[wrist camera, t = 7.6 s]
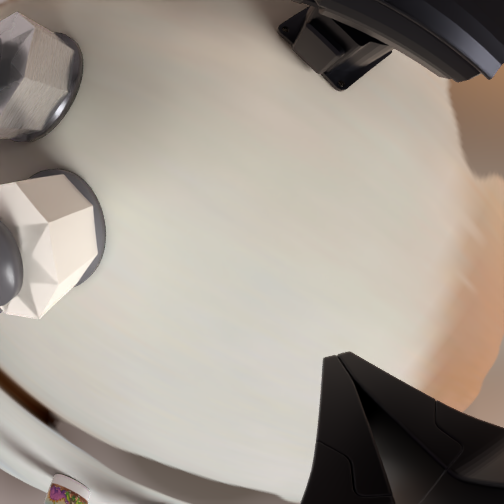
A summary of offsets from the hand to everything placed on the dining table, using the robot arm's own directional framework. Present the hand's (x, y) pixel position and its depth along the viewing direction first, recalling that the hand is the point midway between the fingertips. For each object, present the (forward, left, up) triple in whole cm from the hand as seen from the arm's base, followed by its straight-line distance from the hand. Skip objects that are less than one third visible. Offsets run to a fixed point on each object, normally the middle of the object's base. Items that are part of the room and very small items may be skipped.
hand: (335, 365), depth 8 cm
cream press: (+12, -13, -13) cm, 22 cm away
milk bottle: (+57, +8, -13) cm, 59 cm away
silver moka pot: (+5, -23, -13) cm, 27 cm away
